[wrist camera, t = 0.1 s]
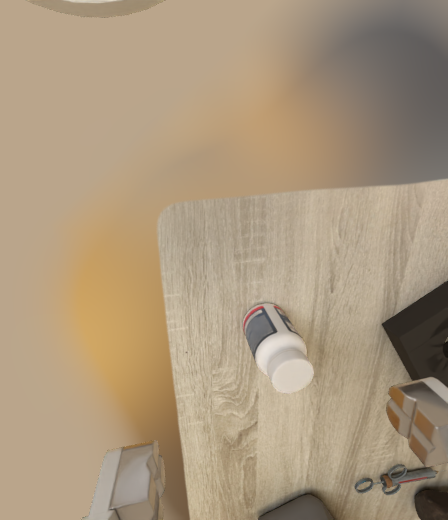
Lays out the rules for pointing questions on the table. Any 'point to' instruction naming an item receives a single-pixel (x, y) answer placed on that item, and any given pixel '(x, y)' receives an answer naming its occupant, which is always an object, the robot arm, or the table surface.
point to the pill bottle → (277, 348)
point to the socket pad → (423, 336)
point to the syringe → (397, 479)
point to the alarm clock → (300, 510)
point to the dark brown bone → (432, 505)
